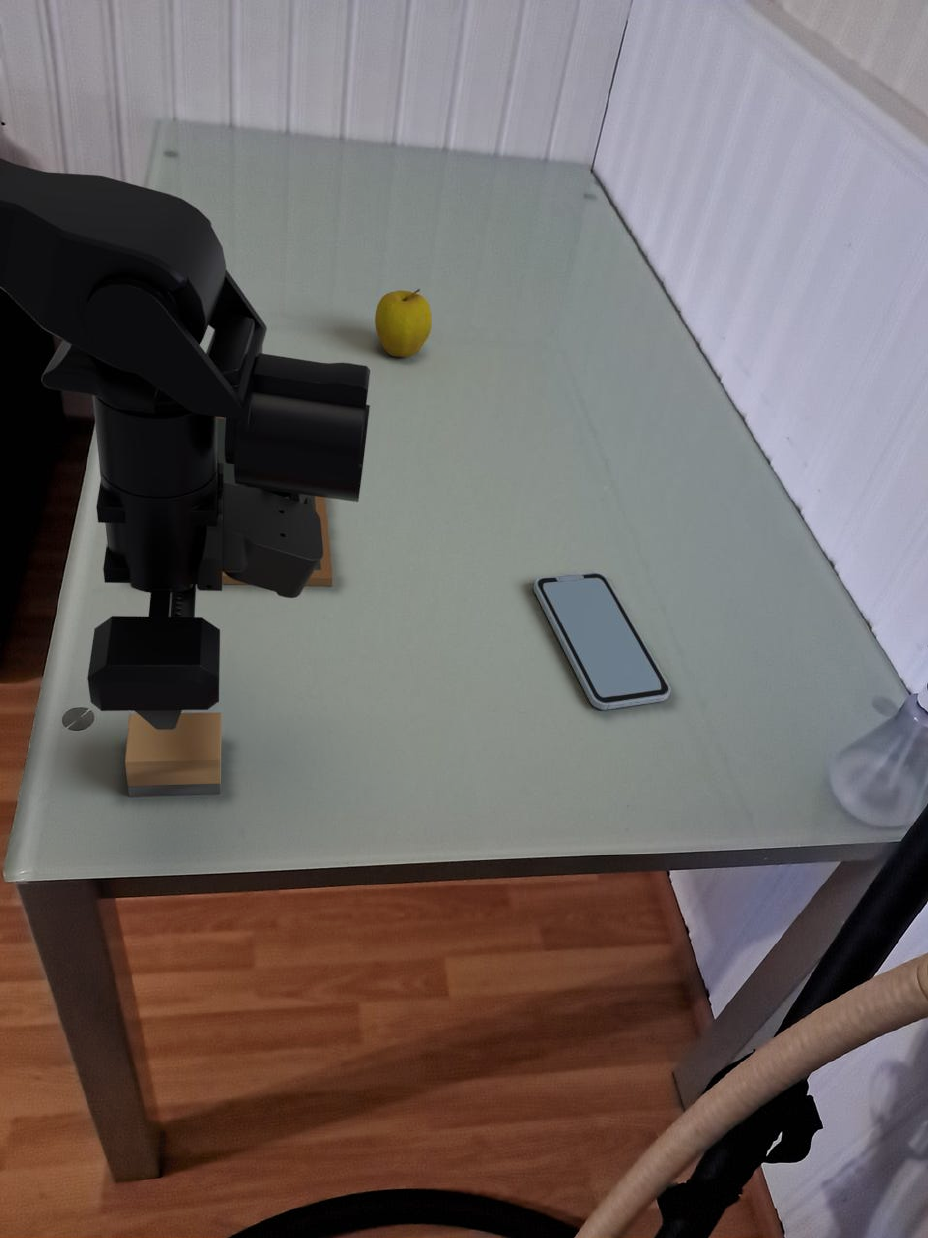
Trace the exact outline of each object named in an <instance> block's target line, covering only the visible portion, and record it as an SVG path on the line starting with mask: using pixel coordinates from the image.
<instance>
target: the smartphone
mask: <svg viewBox="0 0 928 1238" xmlns="http://www.w3.org/2000/svg"><path fill="white" fill-rule="evenodd" d="M533 591H534V593H535V595H536V597H537V599H538V602H539V603H540V605H541V607H542V609H543V611H544V613H545V615H546V618H547V619H548V621H549V623H550V626H551V627H552V630H553V631H554V633H555V635H556V638H557V639H558V641H559V643H560V645H561V647H562V650H563V651H564V653H565V655H566V657H567V659H568V661H569V663H570V665H571V666H572V669H573V671H574V673H575V675H576V677H577V680H578V681H579V683H580V685H581V687H582V689H583V691H584V693H585V695H586V697H587V699H588V700H589V702H590V704H591V705H592V706H593V707H594V708H596V709H599V710H603V711H604V710H614V709H619V708H620V709H621V708H625V707H632V706H639V705H647V704H652V703H660V702H664V701H666V700H667V699H668V697H669V696H670V694H671V691H672V689H671V686H670V684H669V682H668V681H667V679H666V677H665V674H664V673H663V672H662V670H661V668H660V666H659V665H658V662H657V661H656V659H655V658H654V656H653V653H651V651H650V649H649V647H648V646H647V644H646V642H645V641H644V638H643V637H642V636H641V634H640V632H639V630H638V629H637V627H636V625H635V623H634V621H633V620H632V618H631V616H630V614H629V613H628V611H627V609H626V608H625V606H624V604H623V602H622V601H621V599H620V597H619V595H618V594H617V592H616V590H615V589H614V587H613V585H612V584H611V582H610V580H609V578H608V577H607V576H606V575H605V574H603V573H601V572H597V571H592V572H582V573H570V574H562V575H549V576H541V577H538V578H537V579H536V580H535V582H534V585H533Z"/></svg>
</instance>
